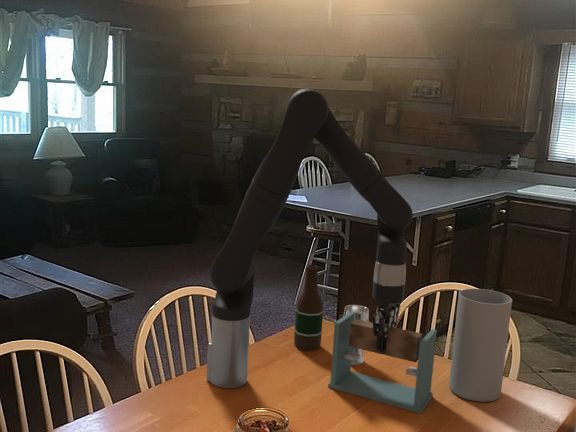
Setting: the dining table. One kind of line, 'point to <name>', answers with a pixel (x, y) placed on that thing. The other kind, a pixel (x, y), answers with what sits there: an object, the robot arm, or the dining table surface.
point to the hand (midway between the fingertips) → (383, 348)
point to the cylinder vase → (480, 344)
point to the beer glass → (360, 314)
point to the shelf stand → (377, 387)
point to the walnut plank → (397, 343)
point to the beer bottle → (309, 313)
